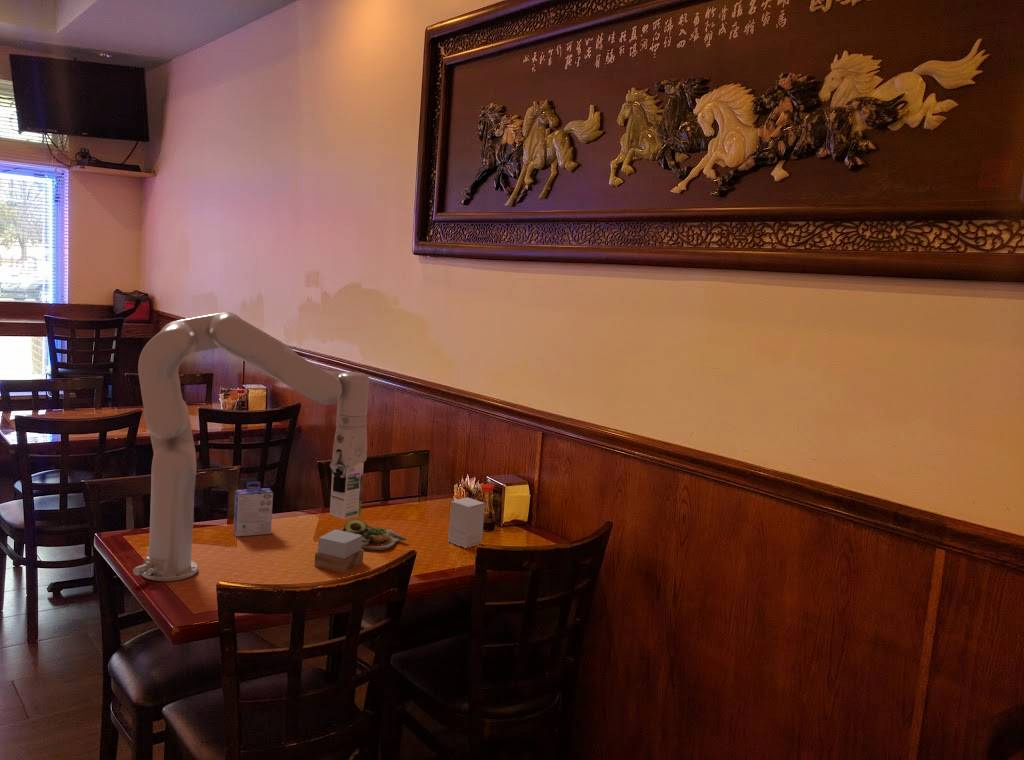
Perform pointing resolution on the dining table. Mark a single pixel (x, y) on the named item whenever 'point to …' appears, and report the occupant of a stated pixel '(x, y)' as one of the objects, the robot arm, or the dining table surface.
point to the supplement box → (466, 522)
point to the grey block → (339, 544)
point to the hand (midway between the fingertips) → (346, 488)
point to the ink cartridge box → (253, 510)
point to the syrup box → (348, 494)
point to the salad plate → (372, 535)
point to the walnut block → (338, 562)
